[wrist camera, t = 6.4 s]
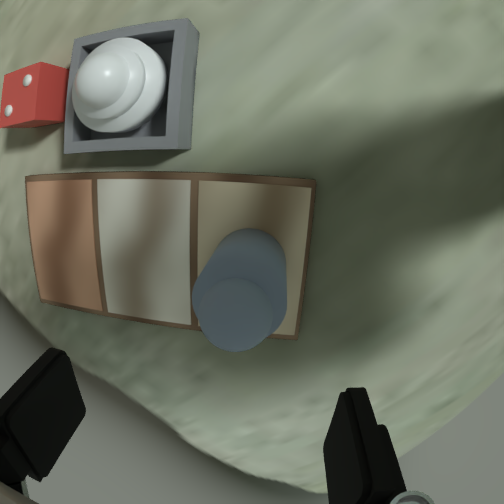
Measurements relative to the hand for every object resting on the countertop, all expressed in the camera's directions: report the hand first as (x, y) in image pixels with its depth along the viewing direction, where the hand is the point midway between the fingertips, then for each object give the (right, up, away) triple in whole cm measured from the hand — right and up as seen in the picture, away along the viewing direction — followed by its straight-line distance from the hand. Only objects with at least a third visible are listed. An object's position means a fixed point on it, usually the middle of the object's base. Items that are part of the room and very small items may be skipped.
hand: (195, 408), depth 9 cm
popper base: (-7, +17, +11) cm, 21 cm away
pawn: (+2, +4, +13) cm, 14 cm away
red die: (-15, +18, +11) cm, 26 cm away
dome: (-7, +16, +8) cm, 19 cm away
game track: (-6, +5, +14) cm, 16 cm away
